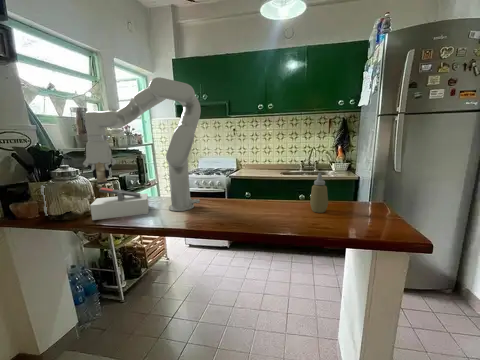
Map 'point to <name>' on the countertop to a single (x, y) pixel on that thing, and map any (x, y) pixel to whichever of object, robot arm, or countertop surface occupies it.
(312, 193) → the squeeze bottle
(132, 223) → the countertop surface
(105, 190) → the rocker
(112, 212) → the switch base
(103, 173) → the dowel
